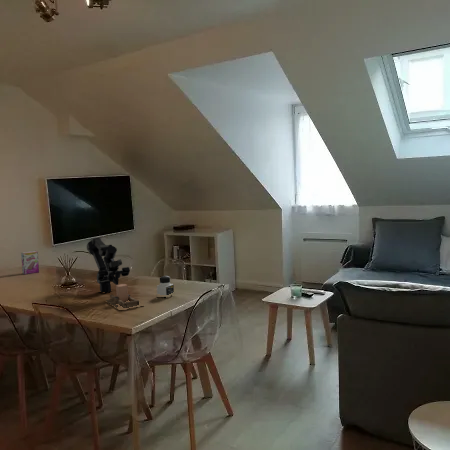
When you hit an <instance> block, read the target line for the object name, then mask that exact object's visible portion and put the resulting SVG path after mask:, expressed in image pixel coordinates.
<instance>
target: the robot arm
mask: <svg viewBox="0 0 450 450" xmlns="http://www.w3.org/2000/svg"><path fill="white" fill-rule="evenodd" d="M86 250H87V251H88V253H89V254H90V255H92V256H93V259H94V262H95V263H96V266H97V269H98V272H97V274H96V283H98V284H99V291H101V292H108V293H110V292H109V291H111V290H112V286H111V284H112V283H113V284H114V285H115V286H116V285H119V279H120V278H121V277H127V276H129V274H130V271H131V269H130V267H129V266H125V267H122V268H121V269H119V268H120V266H122V265H123V262H122V259H117V260H115V259H114V258H116V255H117V252H118V251H117V250H118V249H117V247H116V246H114V245H113V244H105V242H104V241H102V238H100V237H95V238H92V239H91V240H89V241H88V242H87V243H86ZM111 282H112V283H111ZM111 292H112V291H111Z"/></svg>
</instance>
